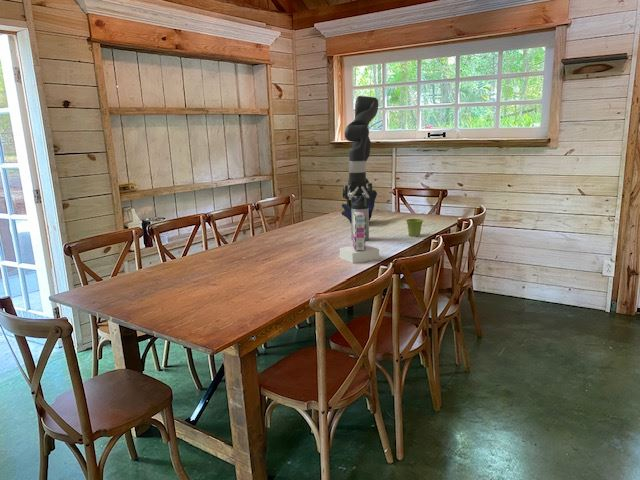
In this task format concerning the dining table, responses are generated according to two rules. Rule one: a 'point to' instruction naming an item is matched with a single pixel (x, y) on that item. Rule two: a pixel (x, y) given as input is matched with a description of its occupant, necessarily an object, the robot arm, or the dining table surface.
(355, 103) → the robot arm
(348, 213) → the decorative plant
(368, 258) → the grey block
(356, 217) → the candy bar box
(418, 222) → the plant pot
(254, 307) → the dining table surface
